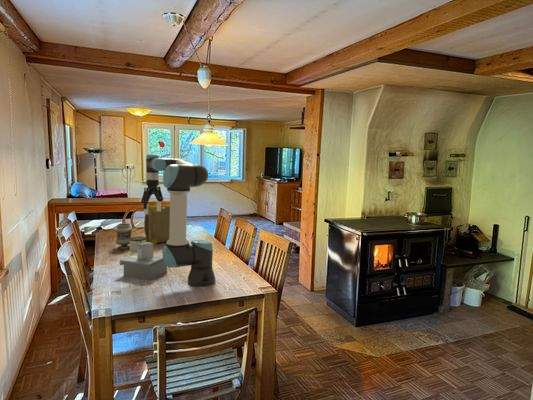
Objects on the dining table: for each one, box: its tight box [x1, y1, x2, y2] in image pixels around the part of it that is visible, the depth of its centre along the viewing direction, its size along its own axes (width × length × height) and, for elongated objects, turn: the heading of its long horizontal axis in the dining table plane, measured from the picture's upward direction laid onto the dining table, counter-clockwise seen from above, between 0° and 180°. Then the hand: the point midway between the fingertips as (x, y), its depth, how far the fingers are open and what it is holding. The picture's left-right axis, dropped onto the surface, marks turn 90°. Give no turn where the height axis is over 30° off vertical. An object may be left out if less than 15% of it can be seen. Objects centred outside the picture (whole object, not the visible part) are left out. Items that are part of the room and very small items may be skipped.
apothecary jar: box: [114, 222, 133, 250], centre depth 264 cm, size 12×12×18 cm
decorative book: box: [143, 204, 170, 245], centre depth 284 cm, size 20×11×30 cm, turn 136°
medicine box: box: [137, 242, 154, 260], centre depth 207 cm, size 8×4×9 cm, turn 141°
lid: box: [119, 254, 163, 266], centre depth 208 cm, size 20×16×3 cm
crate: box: [123, 259, 168, 281], centre depth 208 cm, size 18×16×8 cm
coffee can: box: [129, 235, 146, 256], centre depth 238 cm, size 10×10×14 cm
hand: (152, 212), depth 226 cm, fingers open, 13 cm apart
